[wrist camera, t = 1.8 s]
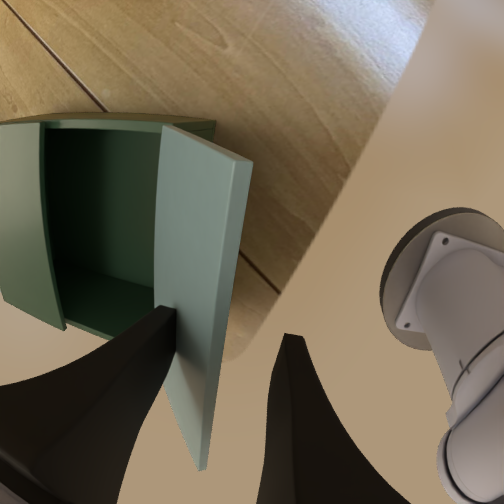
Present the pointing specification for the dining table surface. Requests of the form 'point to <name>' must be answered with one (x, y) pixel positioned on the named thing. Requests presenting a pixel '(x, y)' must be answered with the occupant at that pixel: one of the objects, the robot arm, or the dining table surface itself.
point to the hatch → (197, 269)
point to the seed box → (82, 215)
